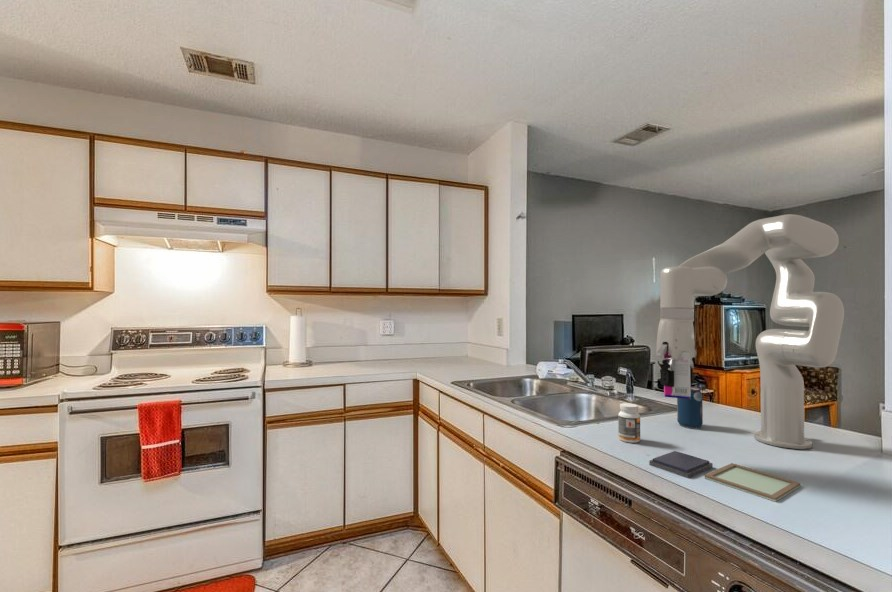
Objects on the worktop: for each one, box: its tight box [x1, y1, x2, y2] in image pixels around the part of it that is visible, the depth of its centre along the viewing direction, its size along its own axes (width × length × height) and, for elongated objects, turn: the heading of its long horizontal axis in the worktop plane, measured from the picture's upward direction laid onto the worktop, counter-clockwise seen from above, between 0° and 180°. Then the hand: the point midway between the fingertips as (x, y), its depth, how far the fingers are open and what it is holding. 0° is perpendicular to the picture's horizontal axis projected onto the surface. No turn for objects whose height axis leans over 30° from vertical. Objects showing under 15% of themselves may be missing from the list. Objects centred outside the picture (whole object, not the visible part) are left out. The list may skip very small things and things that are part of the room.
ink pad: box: [648, 450, 713, 479], centre depth 99 cm, size 11×9×2 cm
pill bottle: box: [617, 402, 641, 444], centre depth 118 cm, size 6×6×10 cm
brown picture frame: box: [704, 462, 802, 502], centre depth 90 cm, size 13×13×1 cm
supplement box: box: [663, 352, 692, 399], centre depth 106 cm, size 6×6×12 cm
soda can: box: [676, 386, 704, 430], centre depth 132 cm, size 7×7×12 cm
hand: (676, 384), depth 106 cm, fingers closed on supplement box, 7 cm apart
